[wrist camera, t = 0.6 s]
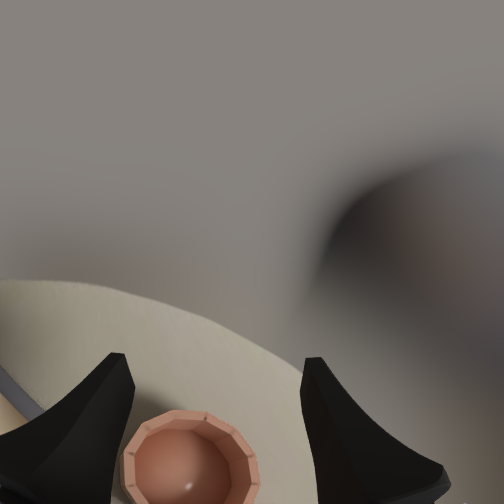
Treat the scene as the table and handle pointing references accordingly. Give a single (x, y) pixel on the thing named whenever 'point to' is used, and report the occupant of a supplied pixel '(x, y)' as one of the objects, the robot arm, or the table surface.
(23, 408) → the mat
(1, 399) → the lid
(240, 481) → the bowl
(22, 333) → the table surface
